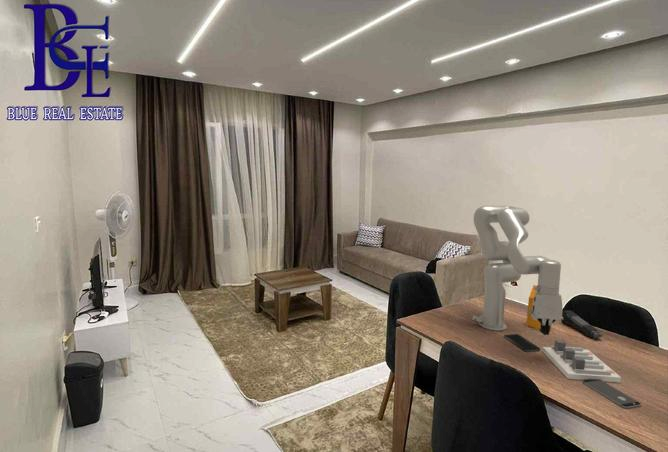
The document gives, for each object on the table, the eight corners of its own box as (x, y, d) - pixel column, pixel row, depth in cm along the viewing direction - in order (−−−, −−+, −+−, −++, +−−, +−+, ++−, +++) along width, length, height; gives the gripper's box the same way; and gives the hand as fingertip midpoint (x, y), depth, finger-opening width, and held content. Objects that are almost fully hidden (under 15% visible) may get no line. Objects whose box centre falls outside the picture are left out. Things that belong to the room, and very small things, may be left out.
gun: (565, 320, 187) (572, 305, 182) (595, 350, 169) (604, 334, 165) (557, 321, 186) (564, 305, 181) (586, 350, 169) (595, 335, 164)
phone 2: (580, 382, 132) (624, 410, 117) (580, 380, 132) (624, 407, 117) (597, 380, 134) (642, 407, 119) (597, 377, 134) (643, 404, 119)
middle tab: (565, 361, 142) (566, 350, 142) (562, 358, 145) (563, 347, 144) (573, 361, 142) (575, 351, 141) (570, 358, 144) (571, 348, 144)
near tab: (575, 371, 135) (576, 360, 135) (571, 367, 138) (572, 356, 137) (583, 371, 135) (585, 360, 134) (580, 367, 138) (581, 357, 137)
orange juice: (544, 331, 175) (549, 291, 172) (526, 325, 181) (529, 286, 178) (551, 326, 179) (555, 288, 177) (532, 321, 186) (536, 283, 183)
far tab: (557, 352, 149) (558, 342, 148) (553, 349, 152) (555, 339, 151) (564, 353, 149) (565, 343, 148) (561, 350, 151) (562, 340, 151)
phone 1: (525, 350, 154) (503, 335, 168) (525, 353, 154) (502, 337, 168) (541, 349, 155) (518, 333, 170) (541, 351, 155) (517, 336, 170)
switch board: (567, 378, 134) (568, 370, 133) (542, 351, 155) (543, 344, 154) (620, 382, 132) (621, 374, 131) (587, 354, 153) (588, 347, 152)
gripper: (532, 292, 144) (529, 336, 146) (572, 293, 142) (568, 338, 145) (524, 287, 152) (522, 329, 154) (562, 288, 150) (559, 330, 152)
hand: (544, 333), depth 149 cm, fingers closed
